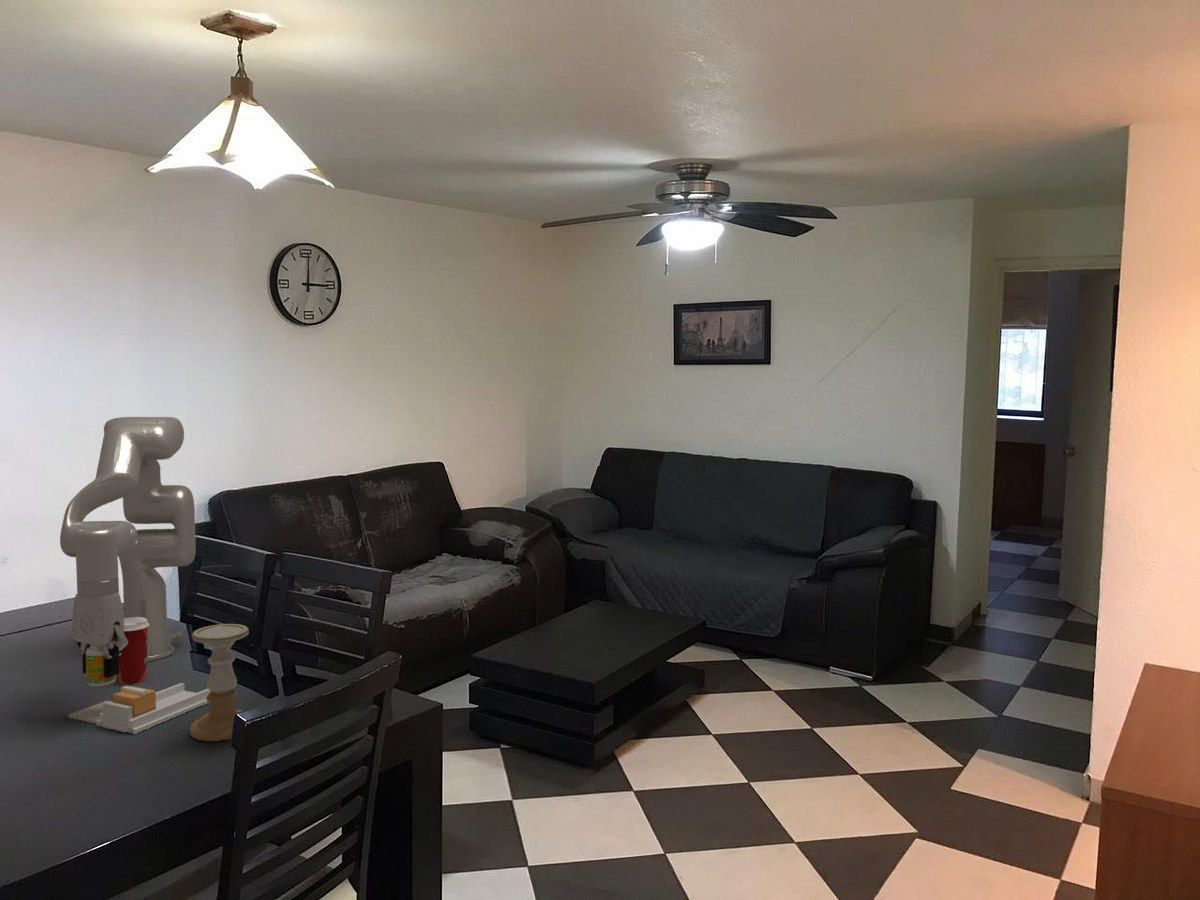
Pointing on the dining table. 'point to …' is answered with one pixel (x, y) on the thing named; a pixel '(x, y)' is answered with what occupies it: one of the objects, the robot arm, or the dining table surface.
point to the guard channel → (167, 707)
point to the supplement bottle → (96, 666)
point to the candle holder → (219, 681)
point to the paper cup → (134, 651)
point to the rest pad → (89, 713)
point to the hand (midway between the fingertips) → (101, 672)
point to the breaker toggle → (136, 699)
